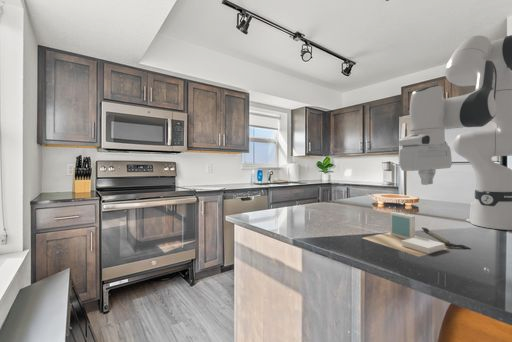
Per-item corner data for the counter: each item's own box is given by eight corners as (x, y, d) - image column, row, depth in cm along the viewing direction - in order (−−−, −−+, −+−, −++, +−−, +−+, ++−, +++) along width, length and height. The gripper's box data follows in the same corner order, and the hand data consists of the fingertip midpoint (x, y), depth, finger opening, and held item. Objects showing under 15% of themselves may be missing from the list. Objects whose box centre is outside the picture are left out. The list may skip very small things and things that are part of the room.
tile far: (393, 233, 91) (393, 212, 91) (415, 239, 84) (414, 216, 83) (390, 234, 90) (389, 212, 90) (411, 240, 83) (411, 216, 83)
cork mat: (396, 231, 94) (396, 230, 94) (456, 247, 76) (456, 246, 76) (361, 239, 87) (361, 237, 87) (419, 258, 69) (419, 256, 69)
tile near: (417, 236, 81) (401, 240, 78) (444, 243, 74) (428, 248, 70) (417, 242, 81) (401, 245, 78) (444, 249, 74) (428, 254, 70)
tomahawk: (471, 251, 73) (472, 247, 73) (445, 247, 75) (446, 244, 75) (438, 232, 94) (438, 229, 94) (418, 229, 95) (419, 226, 95)
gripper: (436, 140, 83) (436, 181, 83) (395, 140, 75) (395, 186, 75) (457, 138, 77) (458, 182, 78) (415, 138, 69) (416, 187, 69)
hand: (427, 184), depth 76 cm, fingers closed
